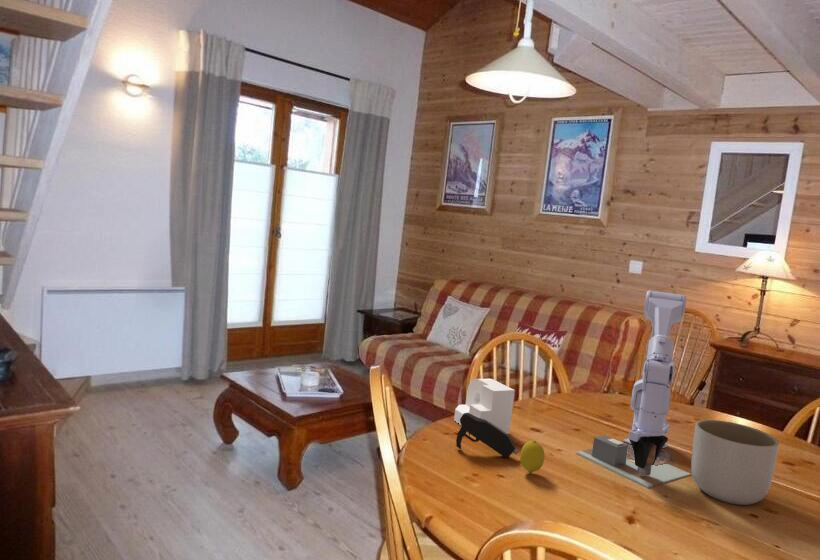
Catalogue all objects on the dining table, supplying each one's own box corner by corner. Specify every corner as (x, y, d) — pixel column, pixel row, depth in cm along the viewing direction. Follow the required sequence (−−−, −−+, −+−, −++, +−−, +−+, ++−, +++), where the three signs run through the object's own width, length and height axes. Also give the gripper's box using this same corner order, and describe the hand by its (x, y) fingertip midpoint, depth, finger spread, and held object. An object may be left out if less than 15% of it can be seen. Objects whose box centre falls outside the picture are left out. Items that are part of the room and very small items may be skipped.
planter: (768, 521, 125) (779, 453, 124) (681, 495, 134) (691, 431, 133) (769, 494, 140) (779, 433, 138) (690, 472, 149) (699, 414, 147)
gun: (500, 478, 146) (522, 446, 144) (446, 441, 148) (467, 409, 146) (501, 473, 149) (523, 442, 147) (447, 437, 151) (468, 406, 149)
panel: (619, 445, 164) (619, 443, 164) (690, 476, 146) (690, 473, 146) (576, 454, 153) (576, 451, 153) (647, 488, 136) (647, 486, 136)
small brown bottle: (644, 468, 144) (648, 441, 143) (655, 475, 140) (659, 447, 140) (632, 469, 143) (635, 441, 142) (642, 476, 139) (646, 447, 138)
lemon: (543, 471, 140) (547, 439, 139) (540, 480, 135) (545, 446, 134) (520, 466, 142) (524, 434, 141) (516, 474, 137) (520, 441, 136)
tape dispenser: (509, 433, 164) (514, 390, 163) (478, 436, 159) (483, 391, 158) (477, 414, 178) (482, 374, 177) (447, 416, 173) (452, 375, 172)
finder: (602, 453, 154) (605, 433, 154) (625, 464, 148) (628, 443, 148) (591, 456, 151) (594, 435, 151) (614, 466, 146) (617, 445, 145)
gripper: (653, 401, 148) (645, 453, 149) (620, 408, 139) (612, 463, 140) (680, 410, 142) (672, 464, 144) (648, 418, 133) (639, 475, 135)
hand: (644, 465), depth 141 cm, fingers closed on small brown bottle, 4 cm apart
